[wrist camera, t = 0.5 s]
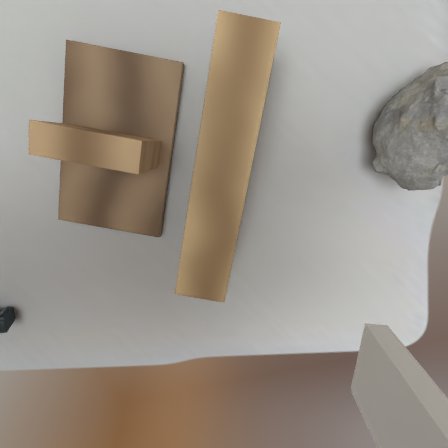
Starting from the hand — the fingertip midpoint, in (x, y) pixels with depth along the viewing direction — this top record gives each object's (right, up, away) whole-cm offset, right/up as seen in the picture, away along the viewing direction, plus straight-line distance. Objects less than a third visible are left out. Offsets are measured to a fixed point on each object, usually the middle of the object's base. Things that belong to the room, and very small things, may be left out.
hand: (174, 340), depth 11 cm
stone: (+18, +13, +18) cm, 28 cm away
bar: (+2, +9, +15) cm, 17 cm away
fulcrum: (-8, +12, +19) cm, 23 cm away
